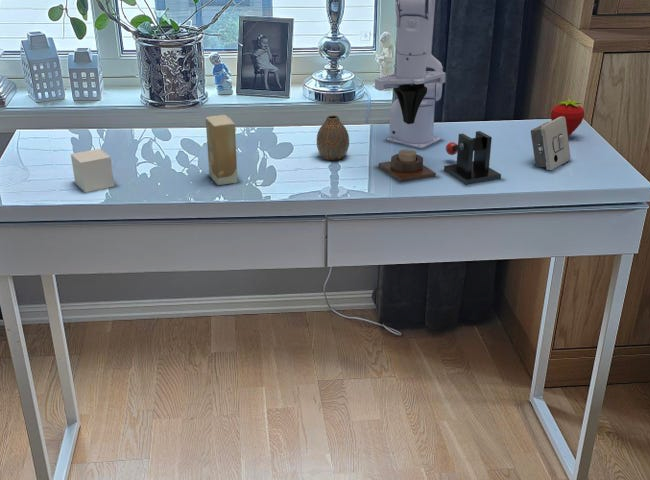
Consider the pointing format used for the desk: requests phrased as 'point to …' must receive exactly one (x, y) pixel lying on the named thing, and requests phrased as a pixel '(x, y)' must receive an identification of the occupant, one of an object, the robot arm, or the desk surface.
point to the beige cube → (92, 170)
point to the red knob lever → (453, 147)
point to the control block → (407, 169)
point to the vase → (332, 139)
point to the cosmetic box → (221, 149)
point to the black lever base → (471, 169)
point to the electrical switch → (551, 144)
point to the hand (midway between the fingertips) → (408, 122)
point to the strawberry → (569, 114)
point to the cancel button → (407, 155)
